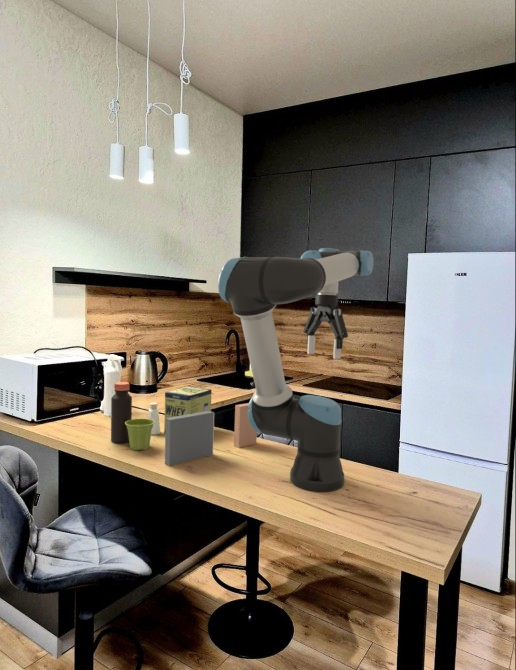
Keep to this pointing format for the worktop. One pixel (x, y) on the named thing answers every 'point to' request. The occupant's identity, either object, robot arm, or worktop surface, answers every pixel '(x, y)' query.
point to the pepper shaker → (154, 418)
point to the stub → (243, 427)
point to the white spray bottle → (110, 382)
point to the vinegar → (120, 412)
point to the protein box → (186, 401)
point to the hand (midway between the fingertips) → (323, 356)
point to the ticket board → (189, 437)
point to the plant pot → (139, 433)
